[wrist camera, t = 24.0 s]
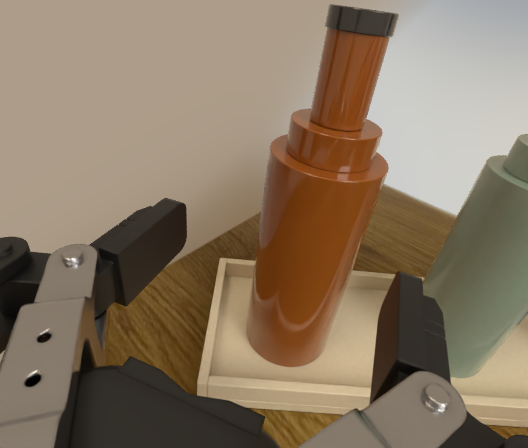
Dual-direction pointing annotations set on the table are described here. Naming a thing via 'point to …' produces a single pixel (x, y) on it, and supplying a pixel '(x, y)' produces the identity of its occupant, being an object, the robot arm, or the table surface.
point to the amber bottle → (320, 194)
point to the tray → (339, 357)
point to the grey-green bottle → (485, 264)
